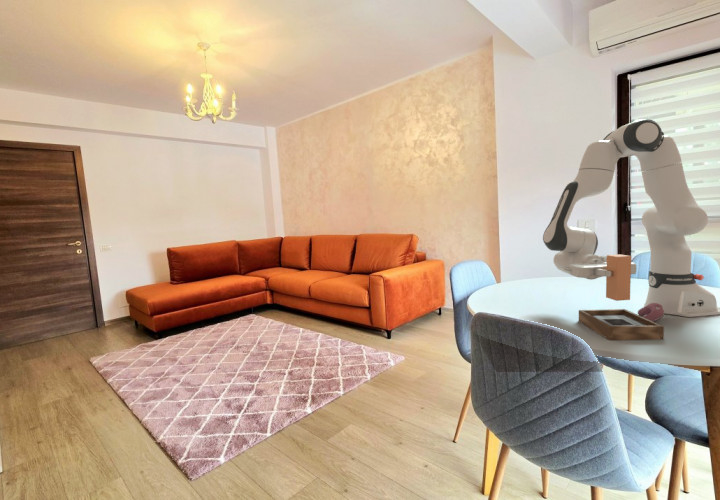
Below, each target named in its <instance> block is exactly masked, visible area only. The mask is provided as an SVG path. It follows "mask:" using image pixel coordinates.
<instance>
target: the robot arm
mask: <svg viewBox="0 0 720 500" xmlns="http://www.w3.org/2000/svg"><path fill="white" fill-rule="evenodd" d="M631 156H635V158H636V159H637V160H638V161H639V165H640V171H641V175H642V181H643V187H644V190H645V193H646V195H648V196H649V198H650V199H651V201H652V203H653V205H654V206H652V207H650V208H647V210H645V211H644V212H643V214H642V217H641V222H642V225H643V227H644V228H645V230H646V234H647V240H648V244H649V249H650V264H649V265H650V269H649V271H648V286H649V287H648V292H647V295H646V299H645V302H644V305H643V308H644V307H646V306H647V305H648V304H650V303H652V302H653V303H658V304H660V305H662V307H663V310H664V313H663V314H664V315H665V314H666V315H673V316H674V315H675V316H681V317H686V318H693V317H703V316H704V317H706V316H715V315H720V307H719V306H718V305H717V304H718V302H717V298H716V296H715V295H714V293H712V292H710V291H709V290H707V289H706V288H704V287H702V286H701V285H699V284H698V283H697V281H703V280H704V278H705V277H704V275H703V274H700V273H699V274H698V273H696V274H694V273H693V272H691V271H692V250H691V248H690V247H689V246H688V243H687V241H686V237H685V236H691V235H695V234H698V233H700V232H702V231H703V230H704V229H705V228H706V227H707V224H708V222H709V216H708V214H707V213H706V211H705V210H704V209H703V208H702V207H700V205H699V204H698V203H697V201H696V200H695V198H694V196H693V194H692V192H691V190H690V189H689V185H688V183H687V180H686V174H685V171H684V166H683V161H682V158H681V154H680V151H679V148H678V147H677V144H676V141H675V140H674V138H673V137H671V136H670V135H665V133H664V132H663V130H662V128H661V126H660V125H659V123H658V122H656V121H655V120H653V119H650V118H647V119H646V118H645V119H644V118H643V119H637V120H635V121H633V122H629V123H626V124H625V125H621V126H620V127H618V128H617V129H615V130H613V131H611V132H610V133H608V134H607V135H606V136H605V137H604V138H603V139H600V140H596V141H593V142H592V143H589V145H588V146H587V148H586V149H585V152H584V153H583V155H582V159H581V162H580V164H579V167H578V172H577V175H576V177H575V178H574V180H573V181H571V182H569V183H568V184H567V185H566V186H565V188H564V190H563V192H562V193H561V195H560V198H559V201H558V202H557V205H556V207H555V209H554V213H553V214H552V217H551V219H550V222H549V223H548V226H547V227H546V228H545V230H544V231H543V232H544V233H543V236H542V241H543V243H544V245H545V246H546V248H547V249H548V250H550V251H554V252H555V251H556V252H557V253H555V254H554V256H553V264H554V266H555V268H556V269H557V270H558V271H561V272H563V273H564V274H568V275H570V276H572V277H576V278H579V279H585V280H590V281H591V280H596V279H599V278H602V277H606V276H608V277H611V276H614V271H611V270H607V255H598V254H596V252H597V250H598V246H599V240H598V236H597V234H596V232H595V231H594V230H592V229H589V228H583V227H577V226H576V227H575V226H571V225H570V226H569V225H568V222H569V220H570V216H571V214H572V212H573V209H574V208H575V205H576V203H577V202H578V201H580V200H582V199H585V198H589V197H594V196H598V195H600V194H602V193H604V192H606V191H607V190H608V189H609V188H610V186H611V184H612V182H613V179H614V176H615V175H614V174H615V172H616V171H615V170H616V166H617V163H618V161H619V159H623V158H625V157H626V158H627V157H631ZM637 269H638V268H637V263H635V262H634V261H633V262H632V261H631V275H636V274H637Z"/></svg>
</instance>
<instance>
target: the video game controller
mask: <svg viewBox="0 0 720 500" xmlns="http://www.w3.org/2000/svg"><path fill="white" fill-rule="evenodd" d="M637 315H639V316H642V317H644V318H646V319H648V320H651V321H653V322H656V321H657V320H658V319H661V318H662V317H664V316H665V313H664V310H663V307H662V305H660V304H658V303H653V302H652V303H650V304H648V305H647V306H646V307H644V306H643V307H642V308H640V309H638V311H637Z"/></svg>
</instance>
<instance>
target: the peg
mask: <svg viewBox="0 0 720 500" xmlns="http://www.w3.org/2000/svg"><path fill="white" fill-rule="evenodd" d="M606 256H607V270H611V271H614V276H611V277H608V276H605V277H606V278H605V280H606V284H605V298H607V299H610V300H613V301H616V302H618V301H630V300H631V283H632V282H631V275H632V274H631V262H632V255H625V254H620V253H619V254H606Z"/></svg>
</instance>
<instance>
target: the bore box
mask: <svg viewBox="0 0 720 500" xmlns="http://www.w3.org/2000/svg"><path fill="white" fill-rule="evenodd" d="M578 322H579V323H581V324H583V326H586V327H587V328H588V329H590V330H592V331H594V332H595V333H597V334H598V335H600V336H601V337H603V338H605V339H607V340H608V341H634V340H635V341H637V340H638V341H640V340H641V341H645V340H649V341H650V340H653V341H654V340H657V341H658V340H664V336H665V335H664V333H665V326H664V325H662V324H659V323H658V322H656V321H651V320H648V319H646V318H644V316H641V315H638V313H635V312H633V311H630V310H628V309H625V308H619V309H618V308H615V309H578Z"/></svg>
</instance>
